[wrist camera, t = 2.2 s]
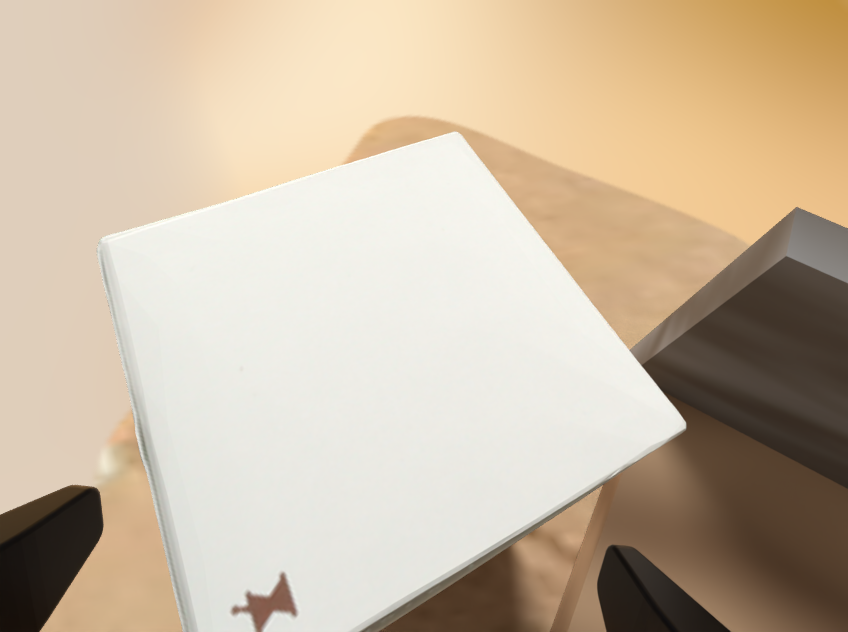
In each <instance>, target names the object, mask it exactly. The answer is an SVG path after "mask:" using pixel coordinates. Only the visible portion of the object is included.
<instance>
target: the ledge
mask: <svg viewBox="0 0 848 632" xmlns="http://www.w3.org/2000/svg"><path fill="white" fill-rule="evenodd" d="M629 351H630V352H631V353H632V354H633V356H634V357H635V358H636V360H637V361H638V362H639V363H640V365H641V366H642V367H643V368H644V370H645V371H646V372H647V373H648V375H649V376H650V377H651V378H652V380H653V381H654V382H655V383H656V385H657V386H658V387H659V388H660V390H661V391H662V392H663V394H664V395H665V396H666V397H667V398H668V400H669V401H670V402H671V403H672V404H673V406H674V407H675V408H676V409H677V411H678V412H679V413H680V415H681V416H682V418H683V419H684V420H685V422H686V430H685V431H684V432H683V433H681V434H680V435H678V436H677V437H675V438H674V439H672V440H670V441H669V442H667V443H666V444H664V445H663V446H661V447H659V448H658V449H656V450H655V451H653V452H652V453H650V454H649V455H647V456H646V457H644V458H643V459H641V460H640V461H638V462H636V463H635V464H633V465H632V466H630V467H629V468H627V469H626V470H624V471H623V472H621V473H620V474H618V475H617V476H615V477H614V478H612V479H611V480H609V481H608V482H606V483H605V484H603V487H602V490H601V493H600V495H599V498H598V501H597V504H596V506H595V509H594V512H593V515H592V518H591V520H590V523H589V526H588V529H587V531H586V534H585V537H584V540H583V542H582V545H581V548H580V551H579V553H578V556H577V559H576V562H575V565H574V567H573V570H572V573H571V576H570V578H569V581H568V584H567V587H566V589H565V592H564V595H563V598H562V601H561V603H560V606H559V609H558V612H557V614H556V617H555V620H554V623H553V625H552V628H551V631H550V632H606V628H605V624H604V619H603V615H602V611H601V606H600V602H599V598H598V593H597V580H598V576H599V572H600V569H601V566H602V562H603V559H604V555H605V552H606V549H607V548H608V546H609V545H612V544H616V545H625V546H631V547H634V548H635V549H637V550H638V551H639V552H640V553H641V554H643V555H644V556H645V557H646V558H647V559H648V560H649V561H651V562H652V563H653V564H654V565H655V566H656V567H657V568H659V569H660V570H661V571H662V572H663V573H664V574H665V575H667V576H668V577H669V578H670V579H671V580H672V581H674V582H675V583H676V584H677V585H678V586H679V587H680V588H682V589H683V590H684V591H685V592H686V593H687V594H688V595H690V596H691V597H692V598H693V599H694V600H695V601H697V602H698V603H699V604H700V605H701V606H702V607H703V608H705V609H706V610H707V611H708V612H709V613H710V614H711V615H713V616H714V617H715V618H716V619H717V620H718V621H719V622H721V623H722V624H723V625H724V626H725V627H726V628H728V629H729V630H730V631H731V632H848V228H845V227H843V226H841V225H838V224H836V223H833V222H831V221H829V220H826V219H824V218H822V217H819V216H817V215H814V214H812V213H810V212H807V211H805V210H802V209H800V208H798V207H796V208H795V209H794V210H793V211H792V212H790V213H789V214H788V215H787V216H786V217H784V218H783V219H782V220H781V221H780V222H779V223H777V224H776V225H775V226H774V227H773V228H772V229H770V230H769V231H768V232H767V233H766V234H765V235H763V236H762V237H761V238H760V239H759V240H758V241H756V242H755V243H754V244H753V245H752V246H751V247H749V248H748V249H747V250H746V251H745V252H744V253H742V254H741V255H740V256H739V257H738V258H737V259H735V260H734V261H733V262H732V263H731V264H730V265H728V266H727V267H726V268H725V269H724V270H723V271H721V272H720V273H719V274H718V275H717V276H715V277H714V278H713V279H712V280H711V281H710V282H708V283H707V284H706V285H705V286H704V287H703V288H701V289H700V290H699V291H698V292H697V293H696V294H694V295H693V296H692V297H691V298H690V299H689V300H687V301H686V302H685V303H684V304H683V305H682V306H680V307H679V308H678V309H677V310H676V311H675V312H673V313H672V314H671V315H670V316H669V317H668V318H666V319H665V320H664V321H663V322H662V323H661V324H659V325H658V326H657V327H656V328H655V329H654V330H652V331H651V332H650V333H649V334H648V335H647V336H645V337H644V338H643V339H642V340H641V341H640V342H638V343H637V344H636V345H635V346H634V347H633V348H631V349H630V350H629Z"/></svg>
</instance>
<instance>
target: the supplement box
mask: <svg viewBox="0 0 848 632" xmlns="http://www.w3.org/2000/svg"><path fill="white" fill-rule="evenodd" d="M97 258H98V262H99V265H100V269H101V275H102V280H103V285H104V289H105V293H106V297H107V301H108V304H109V308H110V313H111V317H112V322H113V326H114V331H115V335H116V340H117V344H118V349H119V353H120V358H121V362H122V366H123V370H124V374H125V379H126V383H127V387H128V392H129V396H130V401H131V406H132V412H133V418H134V423H135V432H136V436H137V440H138V445H139V451H140V456H141V459H142V462H143V465H144V467H145V470H146V473H147V476H148V480H149V484H150V488H151V493H152V497H153V502H154V507H155V512H156V516H157V520H158V524H159V528H160V533H161V537H162V541H163V546H164V550H165V554H166V559H167V563H168V568H169V572H170V576H171V581H172V585H173V590H174V594H175V599H176V603H177V607H178V612H179V616H180V621H181V625H182V630H183V632H379V631H380V630H382V629H384V628H385V627H387V626H388V625H390V624H391V623H393V622H394V621H396V620H398V619H399V618H401V617H402V616H404V615H405V614H407V613H409V612H410V611H412V610H413V609H415V608H416V607H418V606H419V605H421V604H423V603H424V602H426V601H427V600H429V599H430V598H432V597H434V596H435V595H437V594H438V593H440V592H441V591H443V590H444V589H446V588H447V587H449V586H450V585H452V584H453V583H455V582H456V581H458V580H459V579H461V578H463V577H464V576H466V575H467V574H469V573H470V572H472V571H473V570H475V569H476V568H478V567H479V566H481V565H482V564H484V563H485V562H487V561H488V560H490V559H491V558H493V557H494V556H496V555H497V554H499V553H500V552H502V551H503V550H505V549H507V548H508V547H510V546H511V545H513V544H514V543H516V542H517V541H519V540H520V539H522V538H523V537H525V536H526V535H528V534H529V533H531V532H532V531H534V530H535V529H537V528H538V527H540V526H541V525H543V524H544V523H546V522H548V521H549V520H551V519H552V518H554V517H555V516H557V515H558V514H560V513H561V512H563V511H564V510H566V509H567V508H569V507H570V506H572V505H573V504H575V503H576V502H578V501H579V500H581V499H582V498H584V497H585V496H587V495H588V494H590V493H591V492H593V491H594V490H596V489H597V488H599V487H600V486H602V485H603V484H605V483H606V482H608V481H609V480H611V479H612V478H614V477H615V476H617V475H618V474H620V473H621V472H623V471H624V470H626V469H627V468H629V467H630V466H632V465H633V464H635V463H636V462H638V461H640V460H641V459H643V458H644V457H646V456H647V455H649V454H650V453H652V452H653V451H655V450H656V449H658V448H659V447H661V446H663V445H664V444H666V443H667V442H669V441H670V440H672V439H674V438H675V437H677V436H678V435H680V434H681V433H683V432H684V431H685V430H686V422H685V420H684V419H683V418H682V416H681V415H680V413H679V412H678V411H677V409H676V408H675V407H674V406H673V404H672V403H671V402H670V401H669V400H668V398H667V397H666V396H665V395H664V394H663V392H662V391H661V390H660V388H659V387H658V386H657V385H656V383H655V382H654V381H653V380H652V378H651V377H650V376H649V375H648V373H647V372H646V371H645V370H644V368H643V367H642V366H641V365H640V363H639V362H638V361H637V360H636V358H635V357H634V356H633V354H632V353H631V352H630V351H629V349H628V348H627V347H626V345H625V344H624V343H623V342H622V340H621V339H620V338H619V337H618V335H617V334H616V333H615V332H614V330H613V329H612V328H611V327H610V325H609V324H608V323H607V322H606V320H605V319H604V318H603V317H602V315H601V314H600V313H599V311H598V310H597V309H596V308H595V306H594V305H593V304H592V303H591V301H590V300H589V299H588V297H587V296H586V295H585V293H584V292H583V291H582V290H581V288H580V287H579V286H578V284H577V283H576V282H575V281H574V279H573V278H572V277H571V275H570V274H569V273H568V272H567V270H566V269H565V268H564V266H563V265H562V264H561V262H560V261H559V260H558V259H557V257H556V256H555V255H554V254H553V252H552V251H551V250H550V248H549V247H548V246H547V245H546V243H545V242H544V241H543V239H542V238H541V237H540V236H539V234H538V233H537V232H536V231H535V229H534V228H533V227H532V225H531V224H530V223H529V222H528V220H527V219H526V218H525V216H524V215H523V214H522V213H521V211H520V210H519V209H518V208H517V206H516V205H515V204H514V202H513V201H512V200H511V199H510V197H509V196H508V195H507V193H506V192H505V191H504V189H503V188H502V187H501V186H500V184H499V183H498V182H497V180H496V179H495V178H494V176H493V175H492V174H491V173H490V171H489V170H488V169H487V167H486V166H485V165H484V163H483V162H482V161H481V160H480V159H479V157H478V156H477V155H476V154H475V152H474V151H473V150H472V148H471V147H470V146H469V144H468V143H467V142H466V140H465V139H464V138H463V136H462V135H461V134H460V133H458V132H452V133H448V134H445V135H442V136H438V137H435V138H431V139H428V140H424V141H421V142H418V143H414V144H411V145H407V146H404V147H401V148H397V149H394V150H391V151H387V152H384V153H381V154H378V155H375V156H372V157H368V158H365V159H362V160H358V161H355V162H352V163H348V164H345V165H342V166H338V167H335V168H332V169H329V170H325V171H322V172H319V173H315V174H312V175H309V176H306V177H303V178H299V179H296V180H293V181H290V182H286V183H283V184H280V185H277V186H274V187H271V188H268V189H265V190H262V191H258V192H255V193H252V194H249V195H246V196H243V197H240V198H236V199H233V200H230V201H227V202H223V203H220V204H217V205H214V206H210V207H206V208H203V209H199V210H195V211H192V212H188V213H185V214H182V215H178V216H174V217H171V218H167V219H164V220H160V221H157V222H153V223H150V224H146V225H143V226H140V227H136V228H133V229H130V230H126V231H122V232H118V233H115V234H111V235H107V236H104V237H103V238H101V239H100V241H99V243H98V247H97Z"/></svg>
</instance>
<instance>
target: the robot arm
mask: <svg viewBox="0 0 848 632" xmlns="http://www.w3.org/2000/svg"><path fill="white" fill-rule="evenodd" d="M102 531H103V515H102V506H101V498H100V492H99V491H98V489H97V488H95V487H90V486H81V485H70V486H67V487H65V488H62V489H60V490H58V491H55V492H53V493H50V494H48V495H46V496H43V497H41V498H39V499H36V500H34V501H32V502H29V503H27V504H25V505H22V506H20V507H17V508H15V509H13V510H10V511H8V512H5V513H3V514H1V515H0V632H40V630H41V629H42V627H43V626H44V625H45V623H46V622H47V620H48V619H49V617H50V616H51V614H52V613H53V611H54V609H55V608H56V606H57V605H58V603H59V602H60V600H61V599H62V597H63V595H64V594H65V592H66V591H67V589H68V588H69V586H70V585H71V583H72V582H73V580H74V578H75V577H76V575H77V574H78V572H79V571H80V569H81V568H82V566H83V564H84V563H85V561H86V560H87V558H88V557H89V555H90V554H91V552H92V550H93V549H94V547H95V546H96V544H97V543H98V541H99V539H100V537H101V535H102ZM597 593H598V598H599V602H600V606H601V611H602V615H603V619H604V624H605V628H606V632H731V631H730V630H729V629H728V628H726V627H725V626H724V625H723V624H722V623H721V622H719V621H718V620H717V619H716V618H715V617H714V616H713V615H711V614H710V613H709V612H708V611H707V610H706V609H705V608H703V607H702V606H701V605H700V604H699V603H698V602H697V601H695V600H694V599H693V598H692V597H691V596H690V595H688V594H687V593H686V592H685V591H684V590H683V589H682V588H680V587H679V586H678V585H677V584H676V583H675V582H674V581H672V580H671V579H670V578H669V577H668V576H667V575H665V574H664V573H663V572H662V571H661V570H660V569H659V568H657V567H656V566H655V565H654V564H653V563H652V562H651V561H649V560H648V559H647V558H646V557H645V556H644V555H643V554H641V553H640V552H639V551H638V550H637V549H635V548H634V547H631V546H625V545H616V544H612V545H609V546H608V548H607V549H606V552H605V555H604V559H603V562H602V566H601V569H600V572H599V576H598V580H597Z"/></svg>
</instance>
